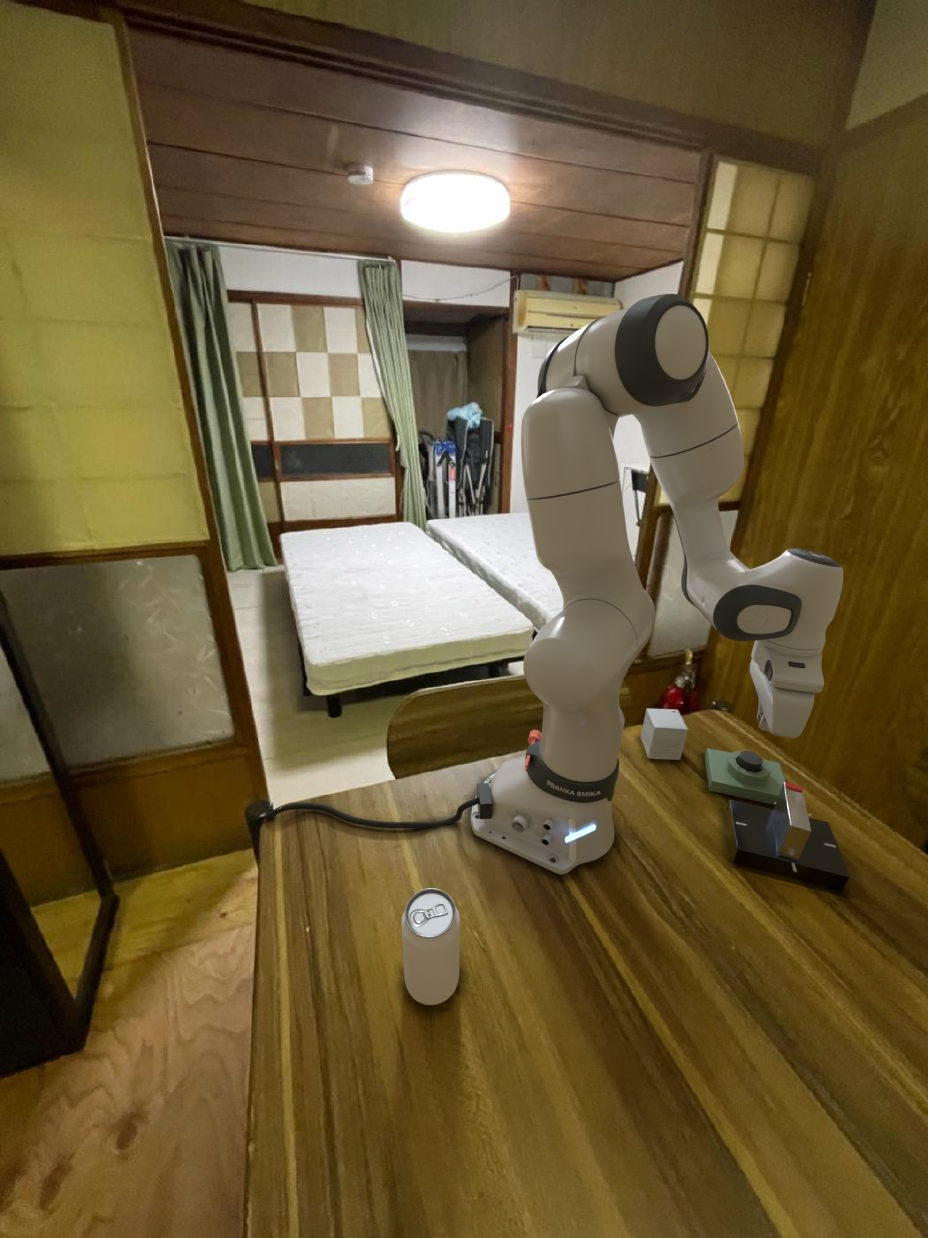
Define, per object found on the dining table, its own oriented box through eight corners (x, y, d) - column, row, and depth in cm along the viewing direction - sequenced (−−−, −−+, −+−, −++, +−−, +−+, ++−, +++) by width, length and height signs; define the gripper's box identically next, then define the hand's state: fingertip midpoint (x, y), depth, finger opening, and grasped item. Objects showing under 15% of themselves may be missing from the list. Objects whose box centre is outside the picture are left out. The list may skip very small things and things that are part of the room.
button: (738, 769, 88) (741, 762, 87) (735, 756, 91) (738, 748, 90) (762, 774, 87) (764, 766, 86) (758, 761, 90) (761, 753, 89)
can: (398, 961, 62) (393, 896, 57) (448, 941, 64) (448, 877, 59) (413, 1017, 57) (410, 951, 52) (467, 994, 59) (469, 928, 54)
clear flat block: (798, 861, 72) (812, 830, 69) (778, 855, 73) (790, 823, 70) (790, 816, 79) (803, 785, 77) (772, 810, 80) (784, 780, 78)
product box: (639, 737, 101) (645, 707, 97) (671, 739, 100) (678, 708, 97) (647, 759, 95) (654, 727, 92) (681, 761, 95) (689, 729, 92)
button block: (709, 790, 88) (714, 772, 86) (704, 757, 96) (709, 740, 94) (787, 808, 85) (794, 790, 83) (776, 772, 93) (782, 754, 91)
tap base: (734, 872, 74) (739, 856, 73) (723, 805, 85) (728, 791, 84) (846, 901, 70) (854, 886, 69) (819, 828, 81) (826, 813, 80)
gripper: (751, 622, 89) (733, 689, 95) (776, 683, 71) (753, 760, 77) (792, 627, 87) (771, 695, 93) (828, 690, 70) (800, 769, 76)
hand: (763, 725), depth 85 cm, fingers closed
